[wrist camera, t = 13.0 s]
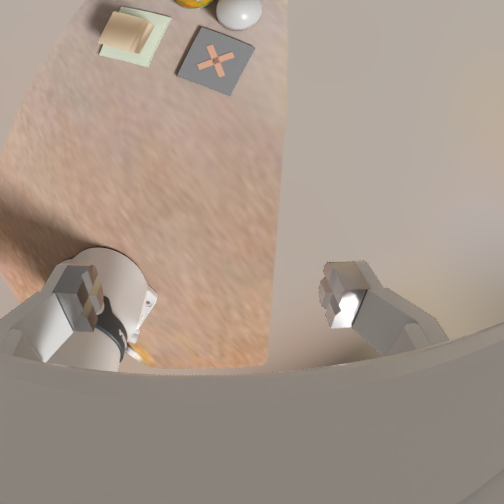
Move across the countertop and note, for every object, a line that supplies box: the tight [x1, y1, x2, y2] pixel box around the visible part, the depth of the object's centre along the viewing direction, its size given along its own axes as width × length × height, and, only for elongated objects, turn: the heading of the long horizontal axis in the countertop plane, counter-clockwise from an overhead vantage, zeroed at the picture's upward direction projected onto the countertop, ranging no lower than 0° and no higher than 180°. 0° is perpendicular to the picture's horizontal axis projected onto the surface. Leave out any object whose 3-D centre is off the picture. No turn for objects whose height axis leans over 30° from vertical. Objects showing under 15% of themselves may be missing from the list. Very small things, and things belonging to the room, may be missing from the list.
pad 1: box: [99, 7, 172, 67], centre depth 25 cm, size 7×7×1 cm
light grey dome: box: [216, 0, 262, 31], centre depth 24 cm, size 5×5×3 cm
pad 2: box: [177, 27, 255, 96], centre depth 28 cm, size 7×7×1 cm
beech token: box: [98, 11, 154, 54], centre depth 22 cm, size 4×4×5 cm
